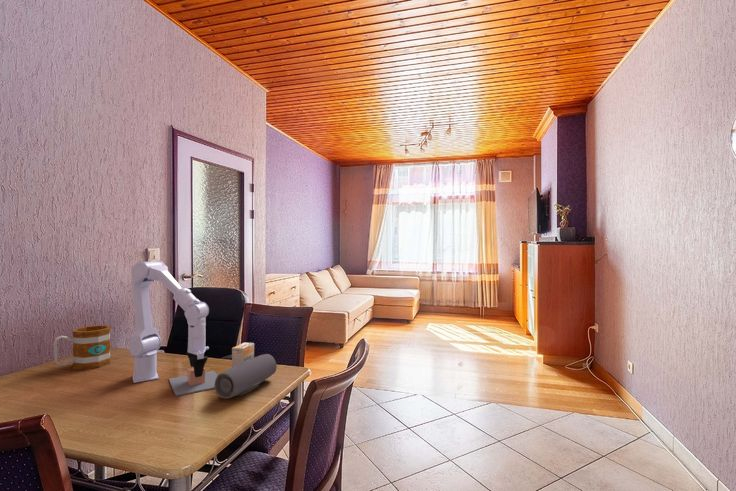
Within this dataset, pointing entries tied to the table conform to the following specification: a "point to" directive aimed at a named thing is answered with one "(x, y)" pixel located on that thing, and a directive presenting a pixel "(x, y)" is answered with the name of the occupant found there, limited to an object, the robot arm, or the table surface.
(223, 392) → the bluetooth speaker
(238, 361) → the supplement box
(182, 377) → the gray placemat
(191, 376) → the terracotta cube
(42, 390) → the table surface
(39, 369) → the table surface
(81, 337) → the mug
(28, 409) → the table surface
